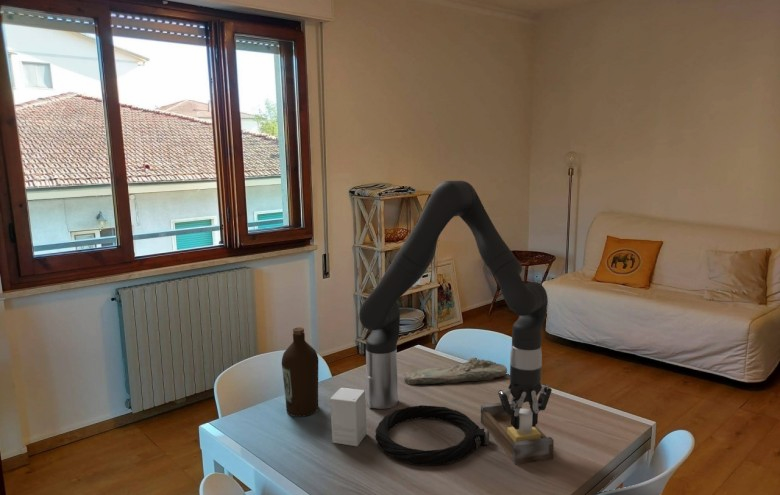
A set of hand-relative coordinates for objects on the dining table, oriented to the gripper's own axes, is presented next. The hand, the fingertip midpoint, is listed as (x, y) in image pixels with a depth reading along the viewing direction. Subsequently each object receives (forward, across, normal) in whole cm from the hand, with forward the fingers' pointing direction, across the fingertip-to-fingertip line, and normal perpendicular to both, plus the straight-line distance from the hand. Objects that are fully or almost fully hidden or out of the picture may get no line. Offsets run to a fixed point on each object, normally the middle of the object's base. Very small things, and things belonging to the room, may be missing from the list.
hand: (523, 426), depth 142 cm
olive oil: (+7, +53, -37) cm, 65 cm away
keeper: (+5, 0, 0) cm, 5 cm away
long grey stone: (+7, +1, -46) cm, 47 cm away
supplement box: (+7, +42, -17) cm, 46 cm away
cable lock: (+7, +21, -11) cm, 25 cm away
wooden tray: (+6, 0, -5) cm, 8 cm away
